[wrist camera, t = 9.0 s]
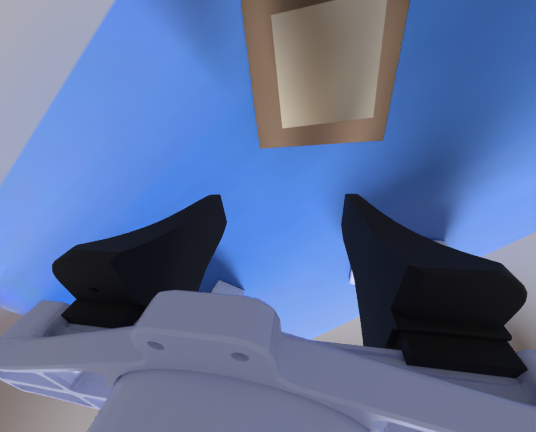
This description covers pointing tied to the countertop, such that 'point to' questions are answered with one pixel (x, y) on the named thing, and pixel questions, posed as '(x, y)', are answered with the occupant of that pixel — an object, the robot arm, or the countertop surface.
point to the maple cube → (328, 61)
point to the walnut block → (266, 84)
